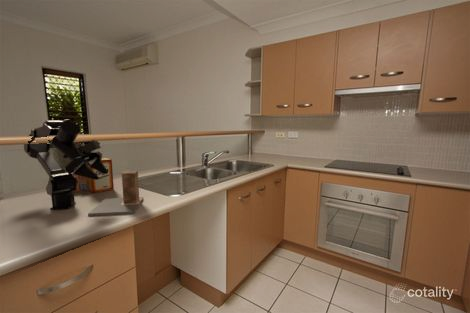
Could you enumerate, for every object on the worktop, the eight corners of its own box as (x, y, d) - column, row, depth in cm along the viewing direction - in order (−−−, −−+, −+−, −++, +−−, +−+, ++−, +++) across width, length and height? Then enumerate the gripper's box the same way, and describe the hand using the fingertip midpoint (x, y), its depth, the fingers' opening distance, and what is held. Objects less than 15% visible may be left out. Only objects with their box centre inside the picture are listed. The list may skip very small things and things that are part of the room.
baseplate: (88, 216, 83) (87, 213, 83) (105, 200, 99) (105, 198, 99) (133, 213, 86) (133, 211, 86) (143, 199, 102) (143, 197, 102)
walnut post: (123, 203, 93) (121, 173, 91) (127, 199, 98) (125, 170, 96) (136, 203, 94) (134, 173, 92) (139, 199, 99) (137, 170, 97)
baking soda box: (92, 193, 109) (90, 161, 106) (88, 190, 113) (86, 159, 110) (113, 189, 115) (111, 158, 113) (109, 186, 120) (107, 157, 117)
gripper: (71, 135, 76) (108, 166, 80) (95, 132, 94) (124, 157, 98) (47, 158, 76) (86, 188, 80) (76, 150, 94) (106, 175, 98)
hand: (102, 175), depth 89 cm, fingers open, 9 cm apart
